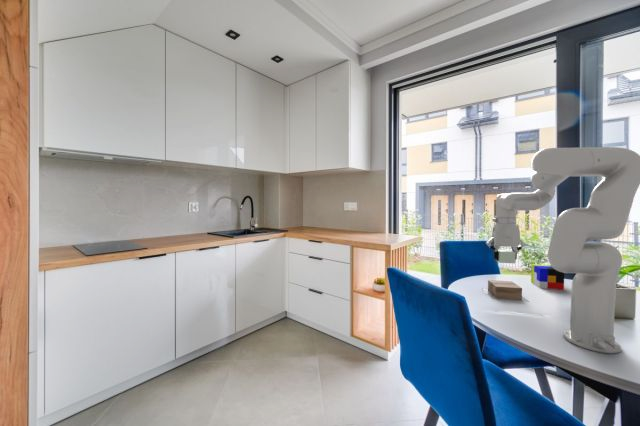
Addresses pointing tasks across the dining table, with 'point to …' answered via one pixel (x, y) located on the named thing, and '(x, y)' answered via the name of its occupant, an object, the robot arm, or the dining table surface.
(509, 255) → the sage brick
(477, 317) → the dining table surface
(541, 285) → the puzzle toy
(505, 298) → the baseplate
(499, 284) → the walnut block
